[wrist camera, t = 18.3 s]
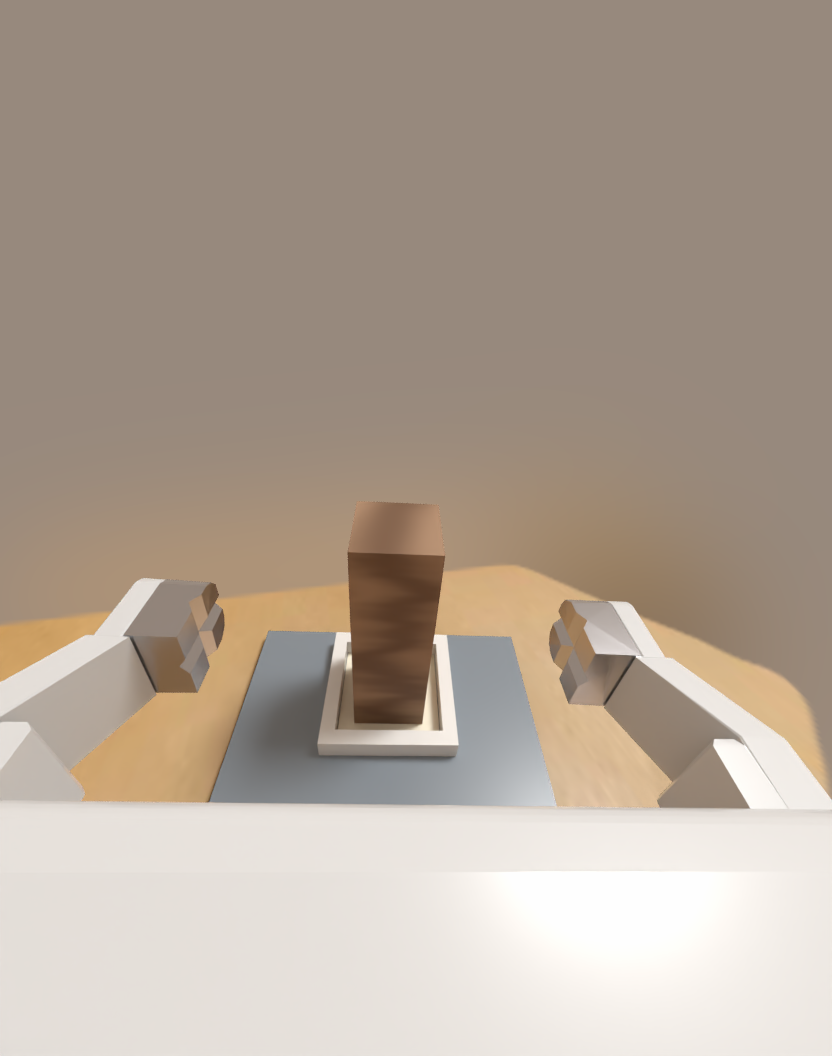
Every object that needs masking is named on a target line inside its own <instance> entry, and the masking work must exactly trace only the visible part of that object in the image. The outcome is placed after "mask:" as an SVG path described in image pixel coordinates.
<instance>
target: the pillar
mask: <svg viewBox="0 0 832 1056" xmlns="http://www.w3.org/2000/svg"><path fill="white" fill-rule="evenodd" d="M444 560H445V551H444V544H443V536H442V528H441V520H440V513H439V505H432V504H431V505H430V504H408V503H386V502H362V501H361V502H360V501H357V504H356V509H355V515H354V521H353V526H352V532H351V537H350V542H349V548H348V574H349V600H350V626H351V652H352V678H353V703H354V723H372V724H422V722H423V715H424V707H425V700H426V693H427V685H428V678H429V670H430V663H431V656H432V648H433V641H434V634H435V626H436V619H437V612H438V604H439V597H440V590H441V582H442V575H443V567H444Z"/></svg>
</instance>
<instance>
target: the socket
mask: <svg viewBox="0 0 832 1056" xmlns="http://www.w3.org/2000/svg"><path fill="white" fill-rule="evenodd" d="M347 654H348V657H347ZM434 656H435V662H434ZM346 661H347V665H346ZM345 668H346V672H345ZM435 670H436V676H435ZM344 676H345V679H344ZM343 683H344V687H343ZM436 683H437V689H436ZM342 690H343V694H342ZM437 697H438V703H437ZM341 698H342V701H341ZM340 705H341V709H340ZM438 710H439V717H438ZM339 712H340V716H339ZM338 719H339V723H338ZM439 724H440V731H439ZM337 727H338V730H337ZM317 746H318V753H319V755H350V756H456V755H457V750H458V746H459V743H458V734H457V725H456V716H455V706H454V697H453V688H452V679H451V670H450V660H449V651H448V642H447V635H434V641H433V648H432V656H431V663H430V670H429V678H428V685H427V693H426V700H425V707H424V715H423V722H422V724H372V723H354V703H353V678H352V652H351V633H344V632H337V633H336V639H335V644H334V650H333V656H332V662H331V668H330V673H329V679H328V685H327V691H326V696H325V702H324V708H323V714H322V720H321V725H320V731H319V737H318V743H317Z"/></svg>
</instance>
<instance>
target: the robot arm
mask: <svg viewBox="0 0 832 1056" xmlns="http://www.w3.org/2000/svg"><path fill="white" fill-rule="evenodd" d="M218 595H219V594H218V591H217V588H216V585H215V584H213V583H209V582H196V581H182V580H168V579H167V580H161V579H148V578H142V579H140V580H139V581H137V582H135V583H134V585H133V586H132V587H131V589H130V590H129V591H128V592H127V594H126V595H125V596H124V597H123V599H122V600H121V601H120V602H119V604H118V605H117V606H116V607H115V609H114V610H113V611H112V613H111V614H110V615H109V616H108V618H107V619H106V620H105V621H104V623H103V624H102V625H101V626H100V628H99V629H98V630H97V631H96V633H95V634H94V635H85V636H83V637H81V638H80V639H78V640H76V641H74V642H72V643H71V644H69V645H67V646H65V647H63V648H62V649H60V650H58V651H56V652H54V653H52V654H51V655H49V656H47V657H45V658H43V659H42V660H40V661H38V662H36V663H34V664H33V665H31V666H29V667H27V668H25V669H24V670H22V671H20V672H18V673H16V674H15V675H13V676H11V677H9V678H7V679H6V680H4V681H2V682H0V1056H832V800H831V798H830V797H829V796H828V795H827V793H826V792H825V791H824V789H823V788H822V787H821V785H820V784H819V783H818V781H817V780H816V779H815V777H814V776H813V775H812V774H811V772H810V771H809V770H808V768H807V767H806V766H805V764H804V763H803V762H802V760H801V759H800V758H799V757H798V755H797V754H796V753H795V751H794V750H793V749H792V747H791V746H790V745H789V743H788V742H787V741H786V739H784V738H783V737H782V736H780V735H779V734H777V733H776V732H775V731H773V730H772V729H770V728H769V727H768V726H766V725H765V724H763V723H762V722H761V721H759V720H758V719H756V718H755V717H754V716H752V715H751V714H749V713H748V712H747V711H745V710H744V709H742V708H741V707H740V706H738V705H737V704H735V703H734V702H733V701H731V700H730V699H728V698H727V697H726V696H724V695H723V694H721V693H720V692H719V691H717V690H716V689H714V688H713V687H712V686H710V685H709V684H707V683H706V682H705V681H703V680H702V679H700V678H699V677H698V676H696V675H695V674H693V673H692V672H691V671H689V670H688V669H686V668H685V667H684V666H682V665H681V664H679V663H678V662H677V661H675V660H674V659H672V658H665V656H664V655H663V653H662V652H661V650H660V648H659V647H658V645H657V644H656V642H655V640H654V639H653V637H652V636H651V634H650V633H649V631H648V629H647V628H646V626H645V625H644V623H643V622H642V620H641V618H640V617H639V615H638V614H637V612H636V610H635V609H634V607H633V606H632V605H631V604H629V603H628V602H610V601H607V602H604V601H583V600H565V601H564V602H563V603H562V604H561V607H560V609H559V613H560V616H561V619H559V620H558V621H557V622H555V623H554V624H553V626H552V629H551V631H550V638H549V646H550V652H551V656H552V659H553V662H554V663H555V664H556V665H557V666H559V667H560V668H561V669H562V670H563V671H562V674H561V676H560V678H559V679H560V681H561V684H562V687H563V690H564V692H565V695H566V698H567V701H568V703H569V704H579V705H596V706H605V707H604V708H605V710H606V711H607V712H608V713H609V714H610V715H611V716H612V717H613V718H614V719H615V720H616V721H617V722H618V724H619V725H620V726H621V727H622V728H623V729H624V730H625V731H626V732H627V733H628V734H629V735H630V736H631V738H632V739H633V740H634V741H635V742H636V743H637V744H638V745H639V746H640V747H641V748H642V749H643V750H644V752H645V753H646V754H647V755H648V756H649V757H650V758H651V759H652V760H653V761H654V762H655V763H656V765H657V766H658V767H659V768H660V769H661V770H662V771H663V772H664V773H665V774H666V775H667V776H668V777H669V779H670V780H671V781H672V783H671V784H670V785H669V786H668V787H667V788H666V789H665V790H664V791H663V792H662V793H661V794H660V796H659V798H658V800H657V802H658V804H659V806H660V808H652V807H566V806H480V805H394V804H306V803H215V802H124V801H81V800H82V799H83V797H84V795H85V792H84V789H83V787H82V785H81V784H80V783H79V782H78V781H77V779H76V778H75V777H74V776H73V775H72V774H71V772H70V770H71V769H72V768H73V767H74V766H75V765H77V764H78V763H79V762H80V761H81V760H82V759H83V758H85V757H86V756H87V755H88V754H89V753H90V752H91V751H93V750H94V749H95V748H96V747H97V746H98V745H99V744H101V743H102V742H103V741H104V740H105V739H106V738H107V737H109V736H110V735H111V734H112V733H113V732H114V731H115V730H117V729H118V728H119V727H120V726H121V725H122V724H124V723H125V722H126V721H127V720H128V719H129V718H130V717H132V716H133V715H134V714H135V713H136V712H137V711H138V710H140V709H141V708H142V707H143V706H144V705H145V704H146V703H148V702H149V701H150V700H151V699H152V698H153V697H154V696H156V693H197V692H198V690H199V688H200V686H201V684H202V682H203V679H204V677H205V675H206V673H207V671H208V669H209V663H208V659H207V657H208V656H209V655H210V654H212V653H213V652H214V651H216V650H217V649H218V647H219V644H220V642H221V640H222V636H223V631H224V614H223V609H222V608H221V607H219V606H218V605H217V604H216V603H215V602H216V600H217V598H218Z"/></svg>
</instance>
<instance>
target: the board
mask: <svg viewBox="0 0 832 1056" xmlns="http://www.w3.org/2000/svg"><path fill="white" fill-rule="evenodd" d="M335 639H336V633H333V632H293V631H269V632H268V634H267V637H266V640H265V643H264V646H263V649H262V652H261V655H260V657H259V660H258V663H257V666H256V669H255V672H254V675H253V677H252V680H251V683H250V686H249V689H248V692H247V695H246V698H245V700H244V703H243V706H242V709H241V712H240V715H239V718H238V721H237V723H236V726H235V729H234V732H233V735H232V738H231V741H230V744H229V746H228V749H227V752H226V755H225V758H224V761H223V764H222V766H221V769H220V772H219V775H218V778H217V781H216V784H215V787H214V789H213V792H212V795H211V798H210V801H209V802H215V803H306V804H394V805H480V806H557V805H556V801H555V798H554V794H553V790H552V786H551V783H550V779H549V775H548V772H547V768H546V764H545V761H544V757H543V753H542V750H541V746H540V742H539V739H538V735H537V731H536V727H535V724H534V720H533V716H532V713H531V709H530V705H529V702H528V698H527V694H526V691H525V687H524V683H523V679H522V676H521V672H520V668H519V665H518V661H517V657H516V654H515V650H514V646H513V643H512V639H511V637H494V636H454V635H447V642H448V651H449V660H450V670H451V679H452V688H453V697H454V706H455V716H456V725H457V734H458V743H459V746H458V750H457V755H456V756H350V755H319V753H318V746H317V743H318V737H319V731H320V725H321V720H322V714H323V708H324V702H325V696H326V691H327V685H328V679H329V673H330V668H331V662H332V656H333V650H334V644H335ZM347 657H348V654H347ZM434 662H435V656H434ZM346 665H347V661H346ZM345 672H346V668H345ZM435 676H436V670H435ZM344 679H345V676H344ZM343 687H344V683H343ZM436 689H437V683H436ZM342 694H343V690H342ZM341 701H342V698H341ZM437 703H438V697H437ZM340 709H341V705H340ZM339 716H340V712H339ZM438 717H439V710H438ZM338 723H339V719H338ZM337 730H338V727H337ZM439 731H440V724H439Z"/></svg>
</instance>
